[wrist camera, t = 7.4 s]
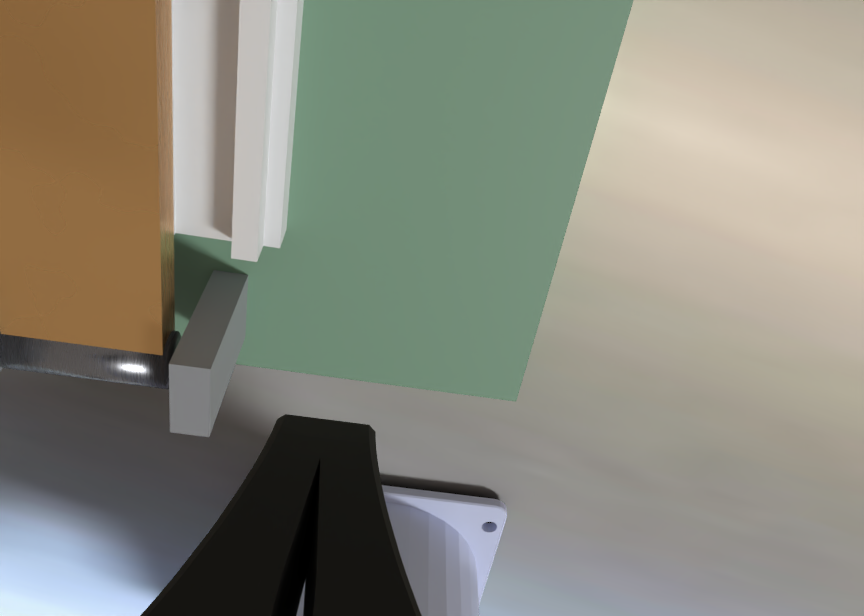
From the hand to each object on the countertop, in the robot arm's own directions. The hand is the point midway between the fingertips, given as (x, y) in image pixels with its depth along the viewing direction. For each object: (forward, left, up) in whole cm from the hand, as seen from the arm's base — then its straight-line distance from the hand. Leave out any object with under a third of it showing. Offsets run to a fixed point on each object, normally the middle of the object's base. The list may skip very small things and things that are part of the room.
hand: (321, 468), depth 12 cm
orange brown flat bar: (+3, +6, -7) cm, 10 cm away
